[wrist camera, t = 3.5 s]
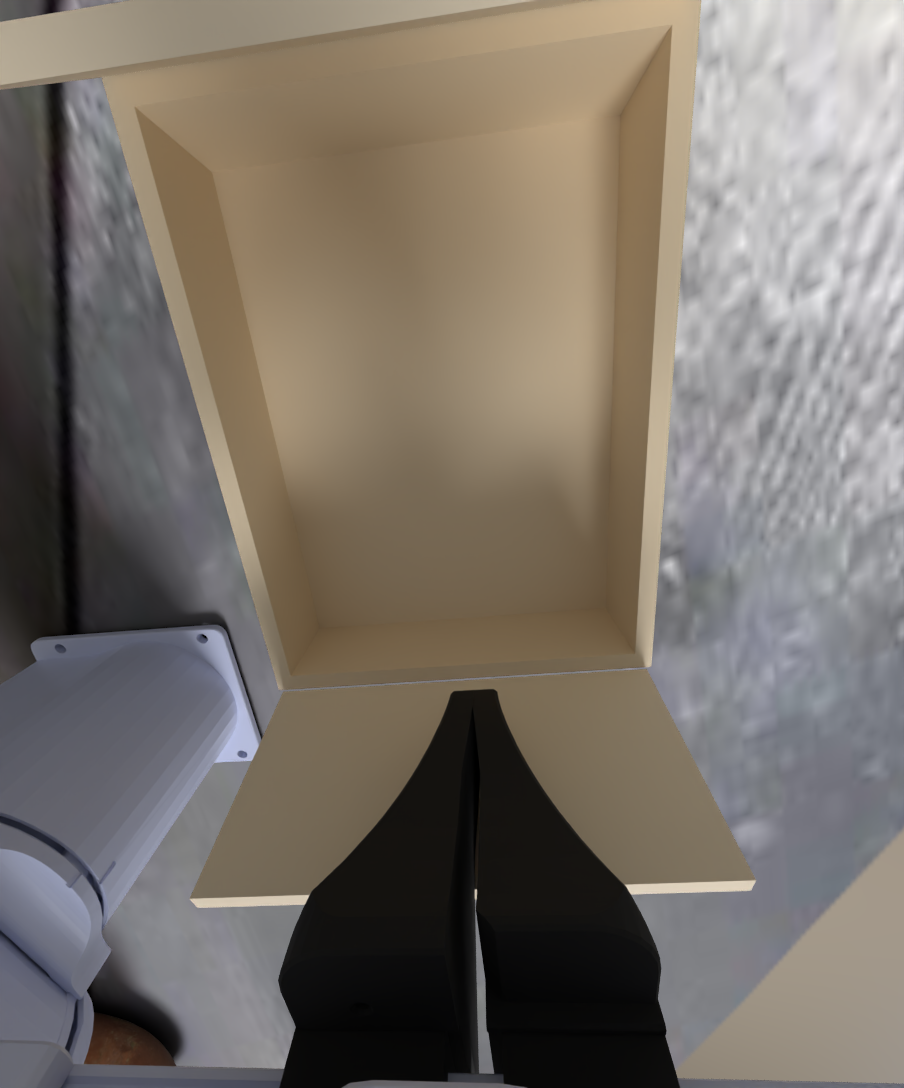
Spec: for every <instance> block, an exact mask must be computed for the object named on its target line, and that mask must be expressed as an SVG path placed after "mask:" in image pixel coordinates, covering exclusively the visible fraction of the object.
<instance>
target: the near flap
mask: <svg viewBox="0 0 904 1088" xmlns="http://www.w3.org/2000/svg"><path fill="white" fill-rule="evenodd" d="M586 1H592V0H129V1H123V2H117V3H111V4H105V5H99V6H93V7H87V8H81V9H75V10H69V11H63V12H57V13H52V14H46V15H40V16H34V17H28V18H22V19H16V20H10V21H4V22H0V90H2V89H10V88H18V87H26V86H35V85H43V84H51V83H59V82H68V81H76V80H84V79H92V78H100V77H108V76H115V75H121V74H128V73H134V72H140V71H147V70H153V69H159V68H166V67H172V66H178V65H185V64H191V63H198V62H204V61H210V60H217V59H223V58H229V57H236V56H242V55H248V54H255V53H261V52H268V51H274V50H280V49H287V48H293V47H299V46H306V45H312V44H318V43H325V42H331V41H338V40H344V39H350V38H357V37H363V36H369V35H376V34H382V33H388V32H395V31H401V30H408V29H414V28H420V27H427V26H433V25H439V24H446V23H452V22H459V21H465V20H471V19H478V18H484V17H490V16H497V15H503V14H509V13H516V12H522V11H529V10H535V9H541V8H548V7H554V6H560V5H567V4H573V3H579V2H586Z"/></svg>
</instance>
